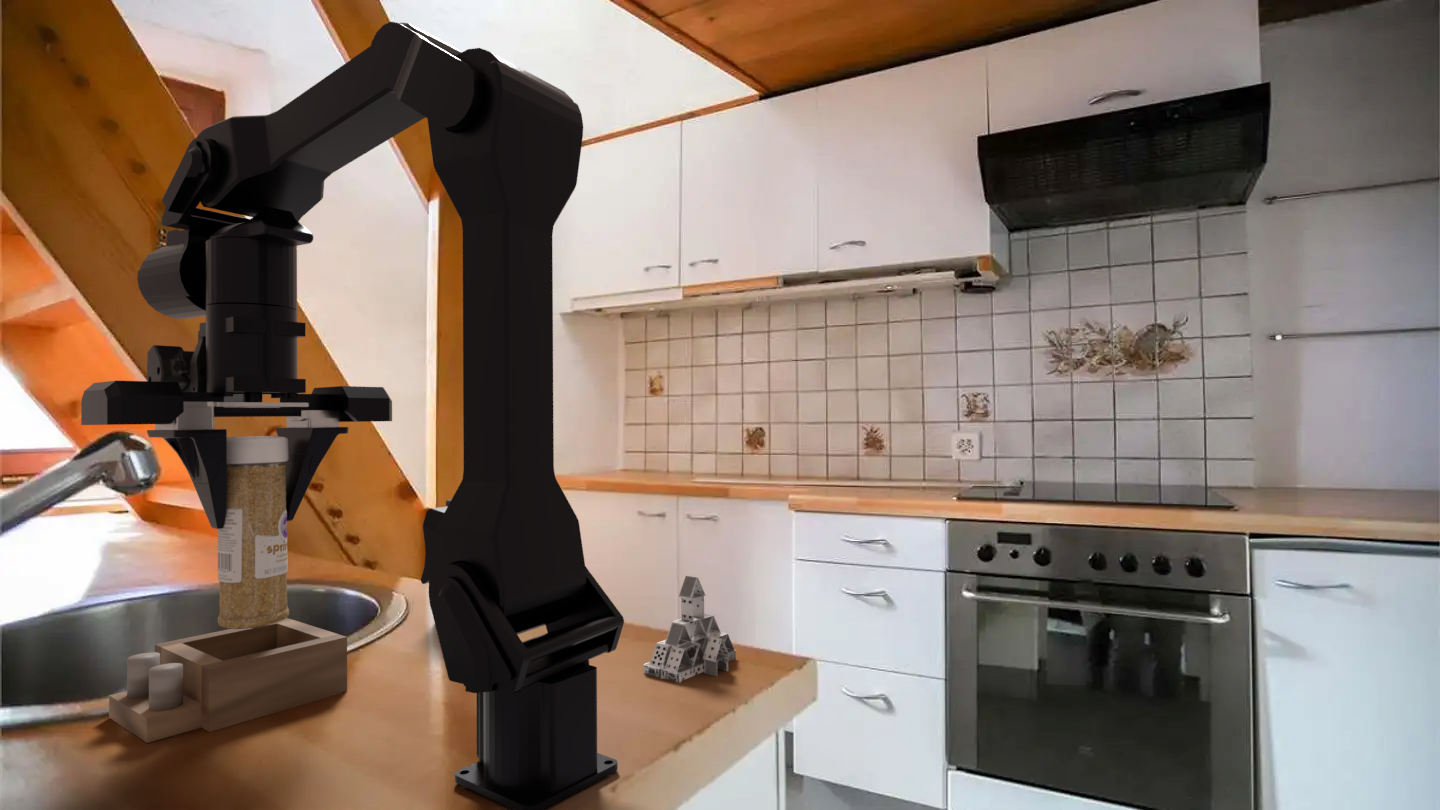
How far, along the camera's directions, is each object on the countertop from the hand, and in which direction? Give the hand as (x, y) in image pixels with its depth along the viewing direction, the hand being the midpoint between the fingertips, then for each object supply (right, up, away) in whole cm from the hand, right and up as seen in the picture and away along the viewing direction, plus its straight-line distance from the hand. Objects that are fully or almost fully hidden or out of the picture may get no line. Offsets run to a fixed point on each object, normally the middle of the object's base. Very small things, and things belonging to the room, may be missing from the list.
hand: (253, 524), depth 57 cm
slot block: (-1, -12, -1) cm, 13 cm away
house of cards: (+33, -13, +3) cm, 35 cm away
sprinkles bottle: (0, -7, 0) cm, 7 cm away
